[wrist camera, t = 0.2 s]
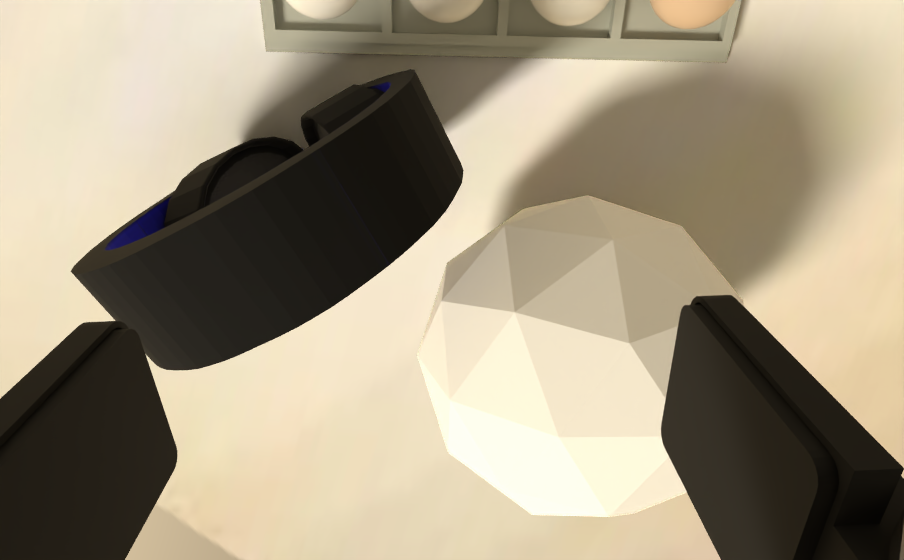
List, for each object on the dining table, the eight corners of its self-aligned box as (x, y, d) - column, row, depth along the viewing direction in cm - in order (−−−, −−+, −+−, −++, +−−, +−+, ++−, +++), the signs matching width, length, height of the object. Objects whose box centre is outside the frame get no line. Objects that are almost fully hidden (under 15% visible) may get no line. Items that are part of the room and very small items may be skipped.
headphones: (415, 41, 36) (395, 93, 18) (460, 135, 38) (482, 261, 21) (177, 171, 39) (-38, 322, 21) (235, 248, 42) (87, 440, 24)
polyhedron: (595, 251, 50) (792, 425, 39) (411, 387, 48) (567, 614, 37) (585, 78, 35) (908, 286, 24) (311, 266, 32) (530, 600, 21)
